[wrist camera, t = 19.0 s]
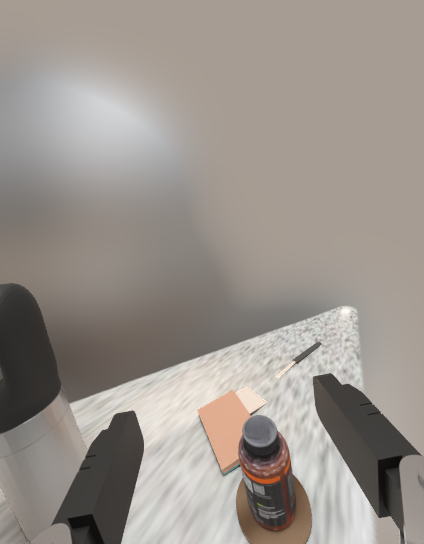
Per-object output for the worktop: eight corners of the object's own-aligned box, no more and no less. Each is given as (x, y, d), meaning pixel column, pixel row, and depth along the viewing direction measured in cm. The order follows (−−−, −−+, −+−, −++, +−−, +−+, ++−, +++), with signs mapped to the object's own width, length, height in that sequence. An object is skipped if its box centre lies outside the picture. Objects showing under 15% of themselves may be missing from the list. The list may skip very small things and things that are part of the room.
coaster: (223, 505, 29) (221, 501, 29) (267, 455, 35) (266, 451, 34) (281, 586, 22) (280, 581, 22) (326, 508, 27) (325, 503, 27)
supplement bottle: (285, 470, 31) (276, 403, 29) (306, 527, 25) (296, 448, 23) (243, 480, 31) (230, 413, 29) (254, 539, 25) (239, 461, 23)
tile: (267, 439, 35) (233, 389, 46) (221, 470, 33) (197, 410, 44) (269, 445, 35) (234, 394, 46) (223, 475, 33) (199, 414, 44)
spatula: (227, 402, 46) (226, 396, 46) (309, 340, 62) (308, 335, 62) (248, 421, 41) (247, 415, 41) (331, 348, 57) (331, 343, 57)
